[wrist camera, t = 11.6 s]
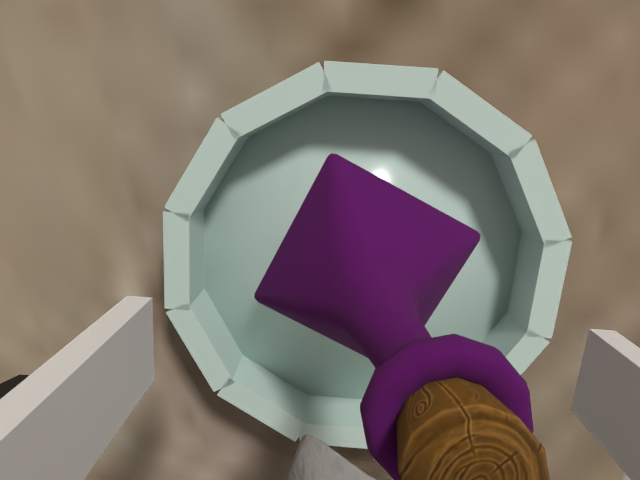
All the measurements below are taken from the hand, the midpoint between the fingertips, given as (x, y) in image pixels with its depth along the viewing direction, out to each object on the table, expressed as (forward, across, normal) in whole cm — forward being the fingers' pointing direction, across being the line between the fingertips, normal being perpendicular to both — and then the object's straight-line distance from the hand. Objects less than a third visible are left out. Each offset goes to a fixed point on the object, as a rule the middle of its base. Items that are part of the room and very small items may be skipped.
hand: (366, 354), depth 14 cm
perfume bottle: (+10, 0, +1) cm, 10 cm away
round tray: (+11, 0, 0) cm, 11 cm away
